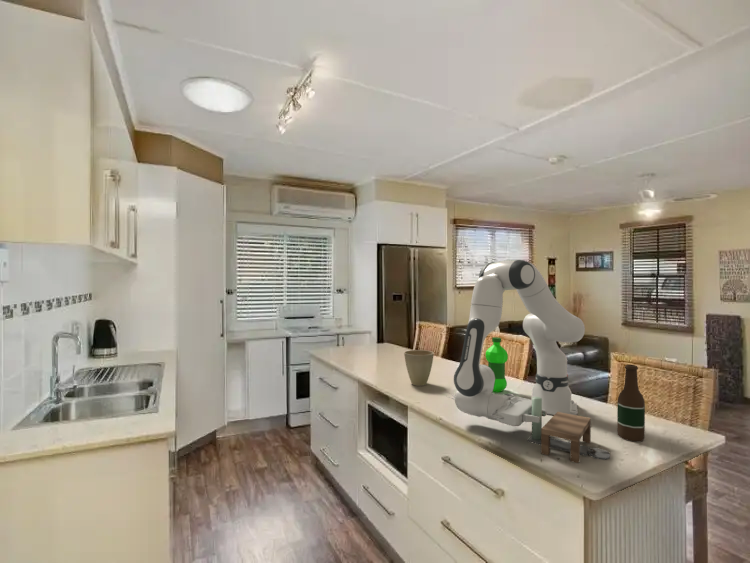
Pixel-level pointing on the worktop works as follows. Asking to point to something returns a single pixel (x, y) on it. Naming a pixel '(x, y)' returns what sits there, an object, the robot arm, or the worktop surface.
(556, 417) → the bench
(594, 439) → the worktop surface
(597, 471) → the worktop surface
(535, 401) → the cylinder
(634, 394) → the beer bottle
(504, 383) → the plastic bottle
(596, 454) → the silver flat disc
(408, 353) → the plant pot
